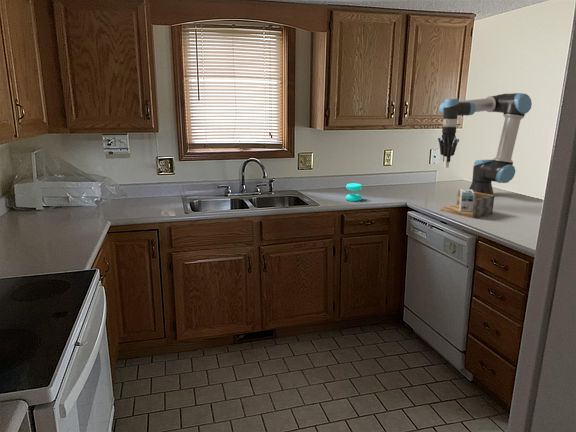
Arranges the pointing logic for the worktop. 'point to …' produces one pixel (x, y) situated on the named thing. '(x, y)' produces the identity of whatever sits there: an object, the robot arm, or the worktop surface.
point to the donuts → (354, 188)
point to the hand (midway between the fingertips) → (446, 167)
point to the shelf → (480, 209)
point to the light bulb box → (466, 200)
